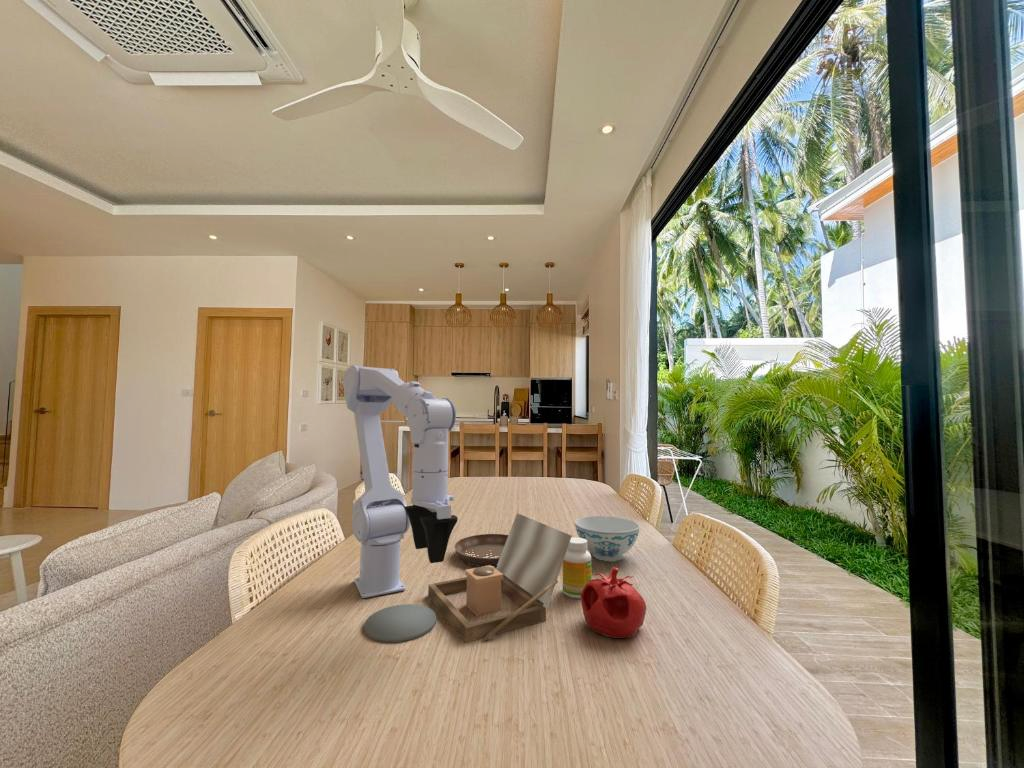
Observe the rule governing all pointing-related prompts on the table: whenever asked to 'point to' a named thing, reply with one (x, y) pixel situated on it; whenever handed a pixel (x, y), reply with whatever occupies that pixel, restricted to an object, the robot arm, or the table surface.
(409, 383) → the robot arm
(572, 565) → the supplement bottle
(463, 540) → the plant saucer
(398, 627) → the mat
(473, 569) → the orange block with dome
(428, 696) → the table surface
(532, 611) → the cold frame
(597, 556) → the chinaware
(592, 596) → the hollow red tomato
